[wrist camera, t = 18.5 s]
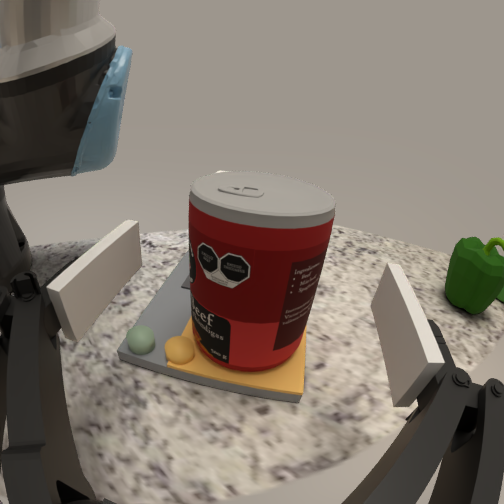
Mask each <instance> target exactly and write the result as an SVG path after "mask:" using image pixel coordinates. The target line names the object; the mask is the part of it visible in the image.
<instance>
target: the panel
mask: <svg viewBox="0 0 504 504" xmlns="http://www.w3.org/2000/svg"><path fill="white" fill-rule="evenodd" d="M305 348H306V327H305V330H304V333H303V337H302V340H301V342H300V345H299V347H298V348H297V349H296V351H295V352H294V353H293V354H292V355H291V357H290V358H289V359H288V360H286V361H285V362H284V363H282V364H281V365H279V366H277V367H275V368H272V369H268V370H265V371H257V372H244V371H237V370H233V369H229V368H226V367H224V366H221V365H219V364H217V363H216V362H214V361H212V360H211V359H210V358H209V357H208V356H206V355H205V354H204V353H203V351H202V350H201V348H200V347H199V345H198V343H197V341H196V339H195V337H194V334H193V330H192V316H191V297H190V271H189V250H188V251H187V253H186V254H185V255H184V257H183V258H182V259H181V261H180V262H179V263H178V265H177V266H176V267H175V269H174V270H173V271H172V273H171V274H170V276H169V277H168V278H167V280H166V281H165V282H164V284H163V285H162V286H161V288H160V289H159V291H158V292H157V293H156V295H155V296H154V298H153V299H152V300H151V302H150V303H149V305H148V306H147V307H146V309H145V310H144V312H143V313H142V315H141V316H140V317H139V319H138V320H137V322H136V323H135V325H134V326H133V327H132V328H131V329H130V330H129V331H128V332H127V335H126V338H125V339H124V341H123V342H122V344H121V345H120V347H119V348H118V350H117V352H118V355H119V358H120V359H121V360H124V361H126V362H129V363H132V364H135V365H138V366H141V367H144V368H147V369H150V370H153V371H156V372H159V373H162V374H165V375H169V376H172V377H176V378H179V379H183V380H186V381H190V382H194V383H198V384H201V385H205V386H209V387H214V388H218V389H222V390H227V391H231V392H236V393H241V394H246V395H251V396H257V397H262V398H268V399H274V400H281V401H288V402H295V403H299V401H300V399H301V396H302V394H303V387H304V369H305Z"/></svg>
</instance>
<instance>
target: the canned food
mask: <svg viewBox="0 0 504 504" xmlns="http://www.w3.org/2000/svg"><path fill="white" fill-rule="evenodd" d="M335 205H336V202H335V199H334V198H333V196H332V195H330V194H329V193H328V192H326V191H325V190H323V189H322V188H320V187H318V186H316V185H313V184H311V183H309V182H306V181H302V180H300V179H296V178H292V177H288V176H283V175H278V174H272V173H264V172H250V171H231V172H220V173H214V174H210V175H206V176H204V177H201V178H199V179H197V180H195V181H194V182H193V183H192V184H191V191H190V195H189V271H190V297H191V316H192V330H193V334H194V337H195V339H196V341H197V343H198V345H199V347H200V348H201V350H202V351H203V353H204V354H205V355H206V356H208V357H209V358H210V359H211V360H212V361H214V362H216V363H217V364H219V365H221V366H224V367H226V368H229V369H233V370H237V371H244V372H257V371H265V370H268V369H272V368H275V367H277V366H279V365H281V364H282V363H284V362H285V361H286V360H288V359H289V358H290V357H291V355H292V354H293V353H294V352H295V351H296V349H297V348H298V347H299V345H300V342H301V340H302V337H303V333H304V330H305V327H306V324H307V320H308V317H309V314H310V310H311V307H312V303H313V300H314V296H315V293H316V289H317V286H318V282H319V278H320V275H321V271H322V267H323V263H324V260H325V256H326V252H327V248H328V244H329V240H330V235H331V231H332V225H333V220H334V216H335Z"/></svg>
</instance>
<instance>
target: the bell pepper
mask: <svg viewBox="0 0 504 504" xmlns="http://www.w3.org/2000/svg"><path fill="white" fill-rule="evenodd" d="M495 245H499V246H501V247H502V249H503V251H504V240H503V239H501V238H491V240H490V241H489V242H488V243H487V244H486V245H484V244H483V243H482V242H481V241H480V239H479V238H477V237H470V238H467V239H465V238H462V239H461V240H460V241H459V242H458V243H457V244H456V246H455V248H454V251H453V253H452V256H451V259H450V263H449V268H448V272H447V277H446V283H445V292H446V295H447V298H448V299H449V301H450V302H451V303H452V304H453V305H455V306H457V307H459V308H464V309H465V310H466V311H468V312H469V313H471V314H479V313H481V312H483V311H484V310H485V309H486V308H487V307H488V306H489V305H490V304H491V303H492V302H493V301H494V300H495V299H496V297H497V296H498V295H499V294H500V292H501V290H502V288H503V286H504V257H503V256H501V255H499V253H498V251H497V249H496V247H494V246H495Z"/></svg>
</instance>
